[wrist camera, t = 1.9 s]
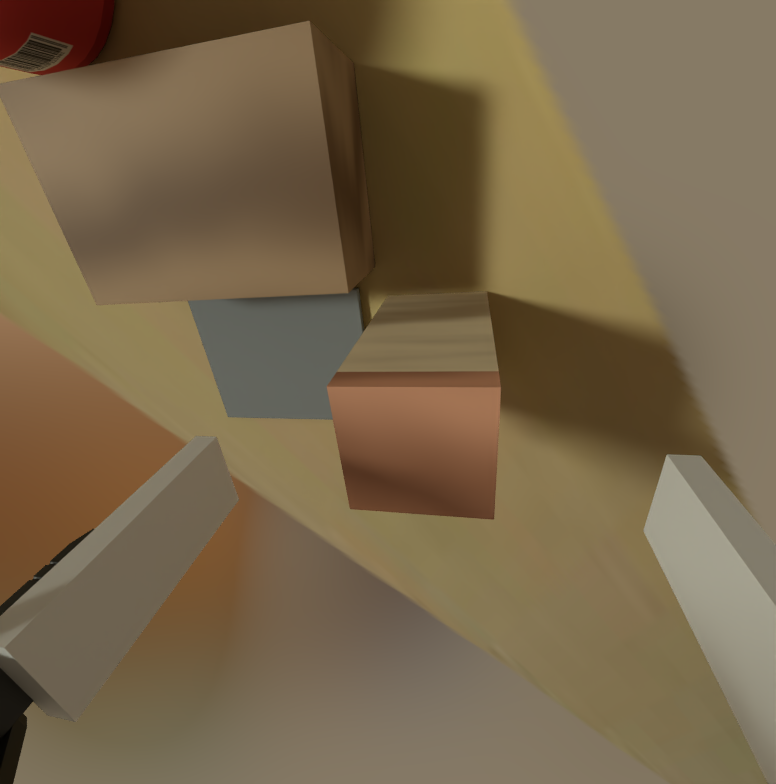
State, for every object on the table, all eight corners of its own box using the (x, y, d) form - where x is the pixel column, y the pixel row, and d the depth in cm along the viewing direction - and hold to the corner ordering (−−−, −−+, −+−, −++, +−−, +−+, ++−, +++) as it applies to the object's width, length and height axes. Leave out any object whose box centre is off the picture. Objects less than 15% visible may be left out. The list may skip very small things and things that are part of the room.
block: (388, 295, 20) (326, 386, 11) (486, 291, 19) (501, 387, 10) (395, 381, 22) (350, 508, 14) (484, 381, 21) (493, 519, 13)
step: (107, 106, 18) (-6, 84, 14) (353, 63, 15) (309, 20, 11) (170, 279, 22) (96, 305, 17) (375, 266, 19) (348, 293, 15)
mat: (191, 296, 22) (186, 298, 22) (358, 287, 20) (356, 289, 20) (231, 413, 26) (228, 417, 26) (375, 416, 24) (373, 420, 23)
